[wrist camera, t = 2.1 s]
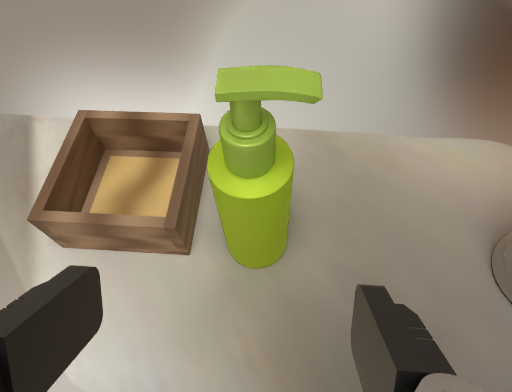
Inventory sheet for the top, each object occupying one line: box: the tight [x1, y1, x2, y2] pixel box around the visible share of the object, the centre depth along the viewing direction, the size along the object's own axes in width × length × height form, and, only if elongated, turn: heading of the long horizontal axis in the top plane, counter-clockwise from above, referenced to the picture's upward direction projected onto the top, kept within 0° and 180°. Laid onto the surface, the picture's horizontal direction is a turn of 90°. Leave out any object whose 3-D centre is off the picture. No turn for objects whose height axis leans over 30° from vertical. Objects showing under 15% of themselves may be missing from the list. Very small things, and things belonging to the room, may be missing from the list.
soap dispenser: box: [207, 66, 323, 268], centre depth 26 cm, size 6×7×20 cm
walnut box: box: [27, 110, 209, 255], centre depth 35 cm, size 13×13×6 cm
